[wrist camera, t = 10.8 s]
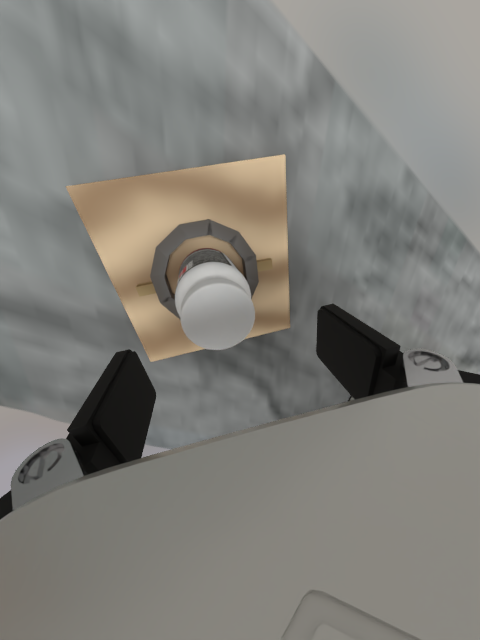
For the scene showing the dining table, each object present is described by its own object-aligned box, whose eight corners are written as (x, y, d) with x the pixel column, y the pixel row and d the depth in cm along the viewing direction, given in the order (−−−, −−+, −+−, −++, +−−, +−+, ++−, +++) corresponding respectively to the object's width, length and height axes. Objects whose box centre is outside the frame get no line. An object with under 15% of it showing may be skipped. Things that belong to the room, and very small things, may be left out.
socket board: (286, 324, 27) (294, 333, 25) (152, 356, 25) (148, 369, 23) (280, 157, 18) (292, 150, 16) (72, 187, 16) (54, 184, 14)
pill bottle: (169, 286, 21) (153, 338, 12) (195, 235, 19) (197, 253, 10) (218, 309, 23) (233, 366, 14) (244, 265, 21) (280, 301, 13)
